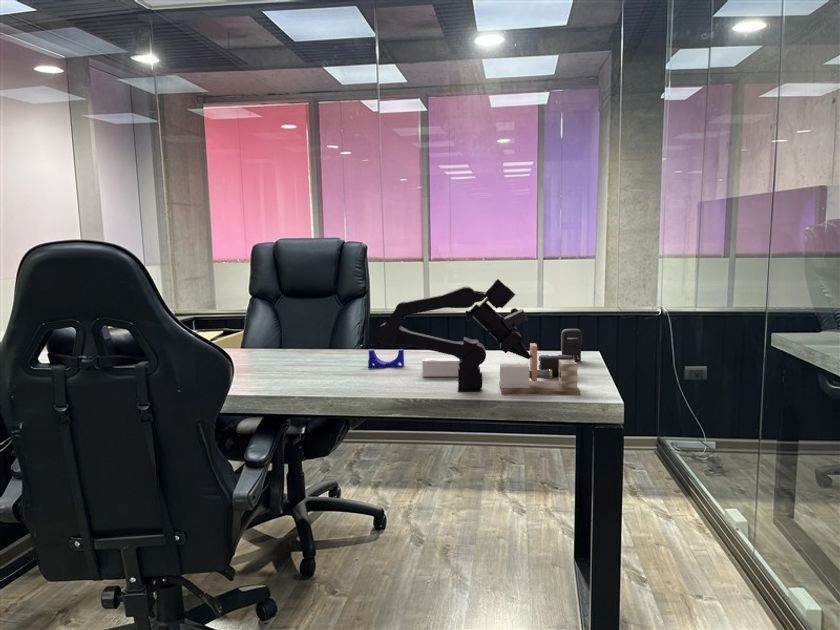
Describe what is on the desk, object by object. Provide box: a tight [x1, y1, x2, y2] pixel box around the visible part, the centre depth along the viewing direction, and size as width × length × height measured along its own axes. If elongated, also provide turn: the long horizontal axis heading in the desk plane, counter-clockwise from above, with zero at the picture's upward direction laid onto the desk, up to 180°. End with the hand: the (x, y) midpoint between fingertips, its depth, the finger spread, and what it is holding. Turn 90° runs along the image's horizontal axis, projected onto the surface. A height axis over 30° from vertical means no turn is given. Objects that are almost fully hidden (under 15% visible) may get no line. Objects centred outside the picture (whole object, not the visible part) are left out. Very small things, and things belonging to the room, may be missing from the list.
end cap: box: [537, 354, 573, 377], centre depth 179 cm, size 10×7×7 cm
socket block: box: [558, 360, 578, 388], centre depth 162 cm, size 4×6×7 cm
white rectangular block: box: [499, 363, 530, 388], centre depth 163 cm, size 8×5×6 cm, turn 85°
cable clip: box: [367, 348, 405, 369], centre depth 198 cm, size 12×4×6 cm, turn 85°
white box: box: [421, 357, 459, 377], centre depth 185 cm, size 18×10×10 cm, turn 85°
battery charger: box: [560, 328, 583, 362], centre depth 200 cm, size 7×4×11 cm, turn 84°
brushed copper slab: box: [529, 342, 553, 381], centre depth 162 cm, size 13×5×10 cm, turn 85°
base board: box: [499, 380, 581, 396], centre depth 163 cm, size 22×12×1 cm, turn 85°
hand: (529, 357), depth 162 cm, fingers closed, pressing on brushed copper slab
